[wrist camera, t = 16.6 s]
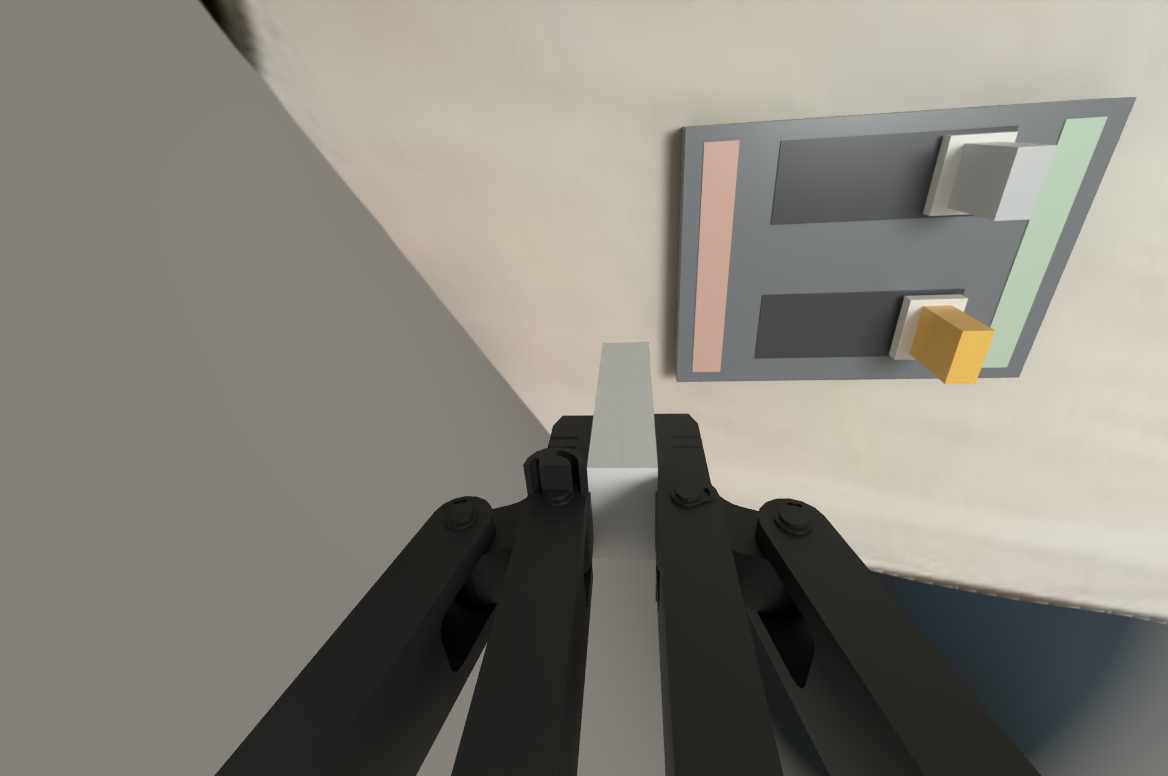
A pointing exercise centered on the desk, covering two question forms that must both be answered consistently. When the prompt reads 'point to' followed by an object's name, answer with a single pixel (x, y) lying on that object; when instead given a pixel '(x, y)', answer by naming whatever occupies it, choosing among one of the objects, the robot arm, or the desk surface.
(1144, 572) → the desk surface
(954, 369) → the breaker handle
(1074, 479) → the desk surface
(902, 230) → the breaker panel
